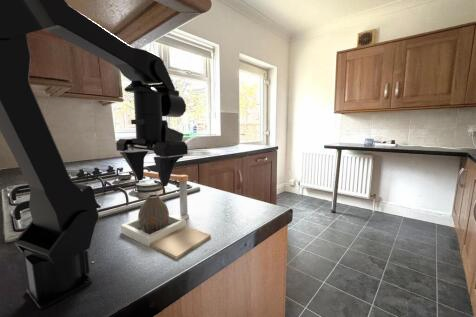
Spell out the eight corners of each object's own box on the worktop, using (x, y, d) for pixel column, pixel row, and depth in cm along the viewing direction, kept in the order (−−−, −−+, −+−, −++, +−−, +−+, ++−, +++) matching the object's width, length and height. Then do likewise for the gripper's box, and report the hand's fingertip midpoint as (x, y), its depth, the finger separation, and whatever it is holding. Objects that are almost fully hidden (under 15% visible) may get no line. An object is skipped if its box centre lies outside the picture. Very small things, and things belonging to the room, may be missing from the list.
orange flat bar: (139, 176, 63) (138, 172, 63) (146, 174, 66) (146, 170, 66) (184, 182, 57) (183, 177, 57) (190, 180, 60) (190, 175, 60)
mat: (176, 259, 41) (176, 256, 41) (144, 243, 47) (144, 241, 47) (210, 237, 50) (210, 234, 50) (180, 226, 55) (180, 223, 55)
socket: (148, 246, 45) (146, 200, 44) (121, 232, 51) (118, 191, 50) (200, 220, 59) (199, 183, 57) (173, 211, 64) (172, 177, 63)
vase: (169, 235, 51) (168, 198, 49) (137, 239, 48) (134, 201, 47) (169, 222, 57) (168, 190, 56) (140, 225, 55) (138, 192, 54)
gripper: (204, 116, 50) (205, 181, 53) (153, 117, 60) (156, 172, 63) (164, 113, 41) (167, 193, 43) (112, 115, 51) (117, 179, 53)
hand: (152, 182), depth 51 cm, fingers open, 9 cm apart
